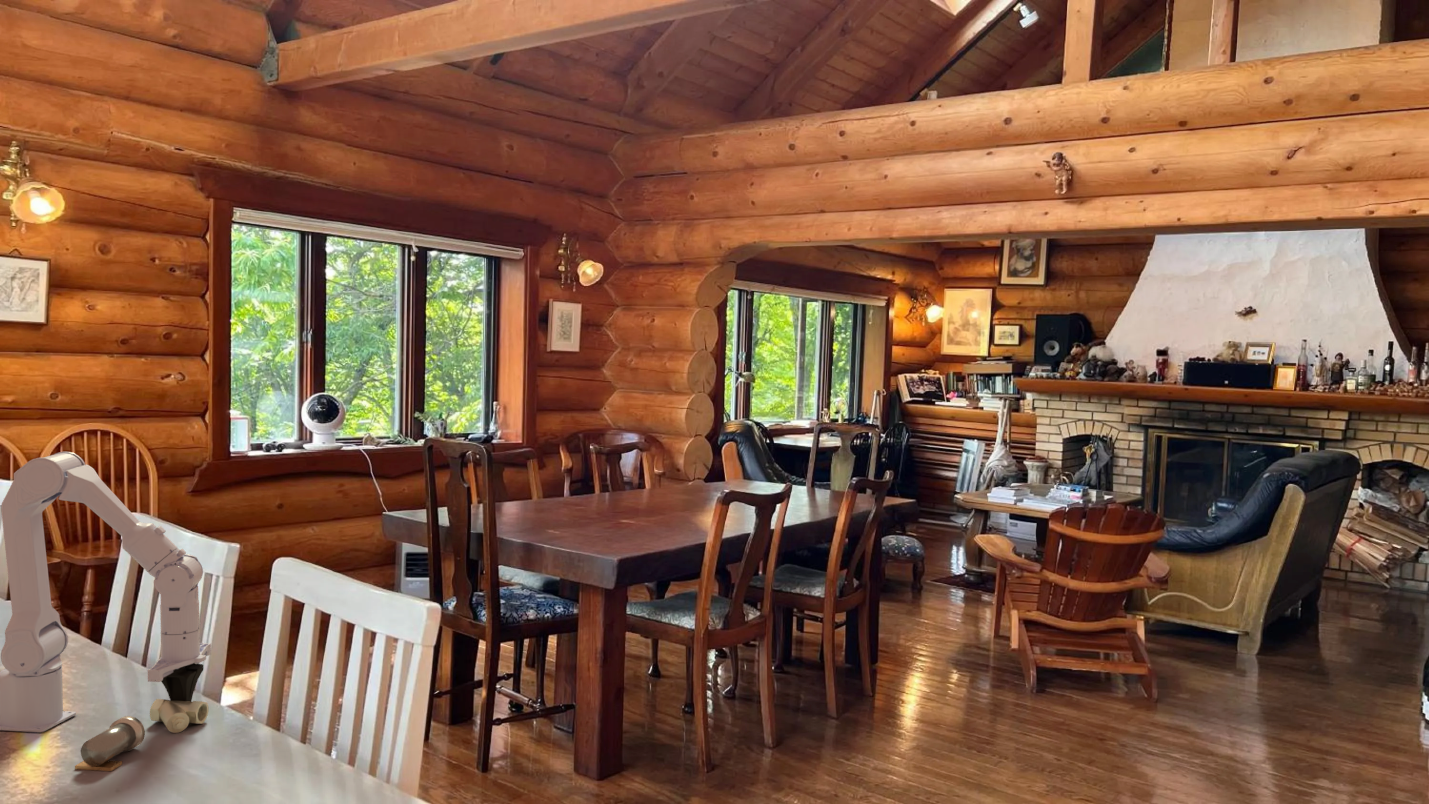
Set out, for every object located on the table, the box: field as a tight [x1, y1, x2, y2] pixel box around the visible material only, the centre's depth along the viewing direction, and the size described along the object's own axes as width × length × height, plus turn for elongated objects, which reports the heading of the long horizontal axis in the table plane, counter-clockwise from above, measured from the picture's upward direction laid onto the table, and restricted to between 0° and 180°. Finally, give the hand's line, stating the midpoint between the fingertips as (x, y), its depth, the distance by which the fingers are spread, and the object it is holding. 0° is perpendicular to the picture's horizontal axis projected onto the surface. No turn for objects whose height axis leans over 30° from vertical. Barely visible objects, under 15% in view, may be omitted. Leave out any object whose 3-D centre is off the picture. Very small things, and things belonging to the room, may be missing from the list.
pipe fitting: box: [149, 698, 209, 734], centre depth 166 cm, size 8×4×7 cm
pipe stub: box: [74, 715, 146, 772], centre depth 153 cm, size 8×6×5 cm
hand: (181, 710), depth 171 cm, fingers closed
